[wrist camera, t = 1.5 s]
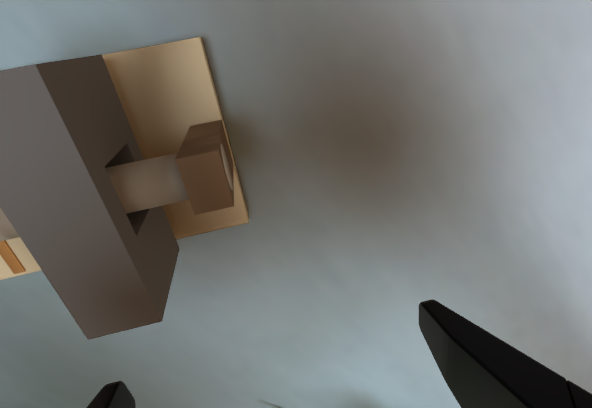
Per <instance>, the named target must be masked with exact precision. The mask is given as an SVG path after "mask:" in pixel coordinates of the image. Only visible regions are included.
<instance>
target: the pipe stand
mask: <svg viewBox="0 0 592 408" xmlns="http://www.w3.org/2000/svg"><path fill="white" fill-rule="evenodd" d="M102 57H103V59H104V62H105V64H106V67H107V69H108V71H109V74H110V76H111V79H112V81H113V84H114V86H115V89H116V91H117V94H118V96H119V99H120V101H121V104H122V106H123V109H124V111H125V114H126V116H127V119H128V121H129V124H130V126H131V129H132V131H133V134H134V136H135V139H136V141H137V144H138V146H139V149H140V151H141V154H142V156H143V159H144V160H141V161H136V162H131V163H127V164H122V165H117V166H112V167H108V168H105V169H106V172H107V174H108V176H109V178H110V180H111V182H112V185H113V187H114V189H115V191H116V193H117V195H118V197H119V200H120V202H121V204H122V206H123V208H124V210H125V213H126V214H127V213H131V212H136V211H140V210H145V209H149V208H154V207H158V206H163V209H164V211H165V214H166V216H167V219H168V221H169V224H170V226H171V229H172V231H173V234H174V236H175V239H180V238H184V237H188V236H193V235H197V234H201V233H206V232H210V231H214V230H219V229H223V228H227V227H232V226H236V225H240V224H245V223H249V216H248V210H247V207H246V203H245V199H244V195H243V192H242V188H241V184H240V180H239V176H238V173H237V169H236V165H235V161H234V158H233V154H232V150H231V146H230V143H229V139H228V135H227V131H226V128H225V124H224V120H223V116H222V112H221V109H220V105H219V101H218V97H217V94H216V90H215V86H214V82H213V79H212V75H211V71H210V67H209V64H208V60H207V56H206V52H205V48H204V45H203V41H202V37H197V38H192V39H186V40H181V41H175V42H170V43H165V44H159V45H154V46H148V47H143V48H137V49H132V50H127V51H121V52H116V53H110V54H105V55H102ZM40 270H41V268H40V267H39V265H38V264H37V262H36V261H35V259H34V258H33V256H32V255H31V253H30V252H29V250H28V249H27V247H26V246H25V244H24V242H23V241H22V239H21V238H20V236H19V235H18V233H17V232H16V230H15V229H14V227H13V226H12V224H11V223H10V221H9V220H8V218H7V217H6V215H5V214H4V212H3V211H2V209H1V208H0V280H1V279H6V278H10V277H14V276H19V275H23V274H27V273H32V272H36V271H40Z"/></svg>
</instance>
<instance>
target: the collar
mask: <svg viewBox="0 0 592 408" xmlns="http://www.w3.org/2000/svg"><path fill="white" fill-rule="evenodd" d="M141 160H144V159H143V156H142V154H141V151H140V149H139V146H138V144H137V141H136V139H135V136H134V134H133V131H132V129H131V126H130V124H129V121H128V119H127V116H126V114H125V111H124V109H123V106H122V104H121V101H120V99H119V96H118V94H117V91H116V89H115V86H114V84H113V81H112V79H111V76H110V74H109V71H108V69H107V67H106V64H105V62H104V59H103V57H102V55H97V56H90V57H83V58H76V59H69V60H62V61H56V62H49V63H42V64H35V65H30V66H24V67H19V68H13V69H8V70H2V71H0V208H1V209H2V211H3V212H4V214H5V215H6V217H7V218H8V220H9V221H10V223H11V224H12V226H13V227H14V229H15V230H16V232H17V233H18V235H19V236H20V238H21V239H22V241H23V242H24V244H25V246H26V247H27V249H28V250H29V252H30V253H31V255H32V256H33V258H34V259H35V261H36V262H37V264H38V265H39V267H40V268H41V270H42V271H43V273H44V274H45V276H46V277H47V279H48V280H49V282H50V283H51V285H52V286H53V288H54V289H55V291H56V292H57V294H58V295H59V297H60V298H61V300H62V301H63V303H64V304H65V306H66V307H67V309H68V310H69V312H70V313H71V315H72V316H73V318H74V319H75V321H76V322H77V324H78V325H79V327H80V328H81V330H82V331H83V333H84V334H85V336H86V337H87V339H92V338H96V337H101V336H105V335H109V334H113V333H117V332H121V331H125V330H129V329H133V328H137V327H141V326H145V325H149V324H153V323H157V322H161V321H162V318H163V314H164V310H165V306H166V302H167V298H168V294H169V289H170V285H171V281H172V277H173V273H174V269H175V265H176V261H177V256H178V252H179V246H178V244H177V241H176V239H175V236H174V234H173V231H172V229H171V226H170V224H169V221H168V219H167V216H166V214H165V211H164V209H163V206H158V207H154V208H149V209H145V210H140V211H136V212H131V213H127V214H126V213H125V210H124V208H123V206H122V204H121V202H120V200H119V197H118V195H117V193H116V191H115V189H114V187H113V185H112V182H111V180H110V178H109V176H108V174H107V172H106V169H105V168H108V167H112V166H117V165H122V164H127V163H131V162H136V161H141Z"/></svg>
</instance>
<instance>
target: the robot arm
mask: <svg viewBox="0 0 592 408" xmlns="http://www.w3.org/2000/svg"><path fill="white" fill-rule="evenodd" d="M419 326H420V329H421V332H422V334H423V336H424V338H425V340H426V342H427V344H428V346H429V348H430V350H431V352H432V355H433V357H434V359H435V361H436V363H437V365H438V367H439V369H440V371H441V373H442V375H443V377H444V379H445V381H446V383H447V385H448V386H449V388H450V390H451V391H452V393H453V395H454V396H455V398H456V400H457V401H458V403H459V405H460V406H461V408H592V394H591V393H589V392H587V391H586V390H584V389H582V388H581V387H579V386H577V385H576V384H574V383H572V382H571V381H569V380H568V381H566V379H565V378H564V377H562V376H560V375H559V374H557V373H555V372H554V371H552V370H550V369H549V368H547V367H545V366H544V365H542V364H540V363H539V362H537V361H535V360H534V359H532V358H530V357H529V356H527V355H525V354H524V353H522V352H520V351H519V350H517V349H515V348H514V347H512V346H510V345H509V344H507V343H505V342H504V341H502V340H500V339H499V338H497V337H495V336H494V335H492V334H490V333H489V332H487V331H485V330H484V329H482V328H480V327H479V326H477V325H475V324H474V323H472V322H470V321H469V320H467V319H465V318H464V317H462V316H460V315H459V314H457V313H455V312H454V311H452V310H450V309H449V308H447V307H445V306H444V305H442V304H440V303H439V302H437V301H435V300H428V301H424V302H421V303H420V304H419ZM87 408H135V400H134V397H133V396H132V394H131V393H130V391H129V390H128V388H127V387H126V385H125V384H124V383H123V382H122V381H118V382H114V383H110V384H107V385H105V386H104V387H103V388H102V389H101V390H100V392H99V393H98V394H97V395H96V397H95V398H94V399H93V400H92V402H91V403H90V404H89V405H88V407H87Z"/></svg>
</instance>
